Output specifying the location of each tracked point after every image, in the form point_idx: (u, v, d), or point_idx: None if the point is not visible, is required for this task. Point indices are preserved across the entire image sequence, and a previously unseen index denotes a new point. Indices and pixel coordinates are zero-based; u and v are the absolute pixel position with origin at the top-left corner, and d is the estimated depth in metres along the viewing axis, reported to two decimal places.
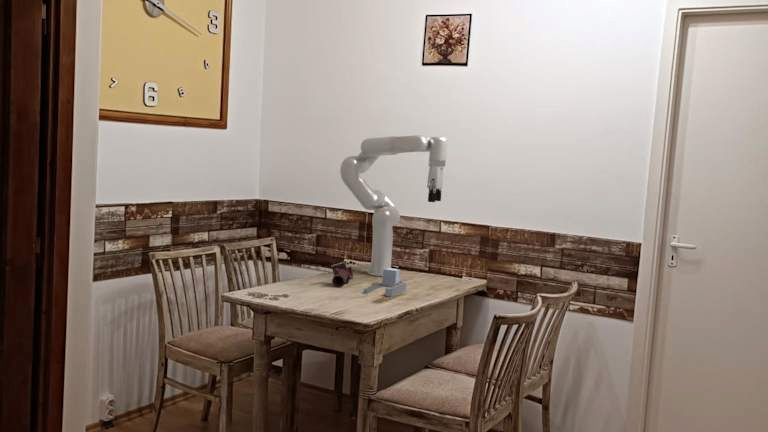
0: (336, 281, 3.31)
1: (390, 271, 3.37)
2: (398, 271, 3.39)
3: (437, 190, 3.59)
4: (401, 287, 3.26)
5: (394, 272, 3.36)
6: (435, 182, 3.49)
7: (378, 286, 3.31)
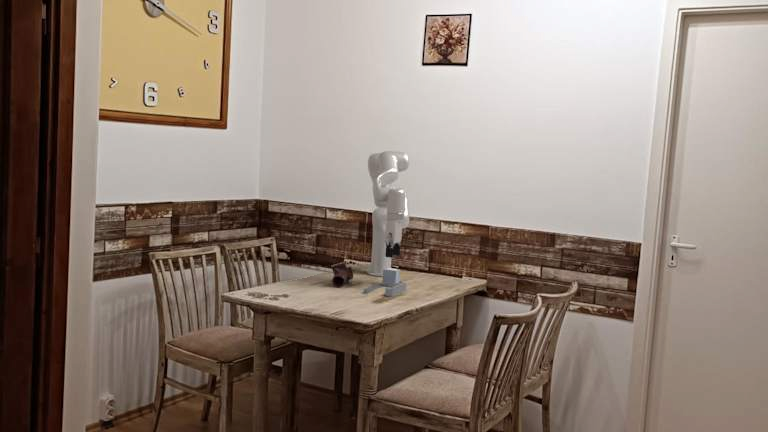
0: (336, 281, 3.31)
1: (390, 271, 3.37)
2: (398, 271, 3.39)
3: (396, 244, 3.43)
4: (401, 287, 3.26)
5: (394, 272, 3.36)
6: (392, 236, 3.33)
7: (378, 286, 3.31)
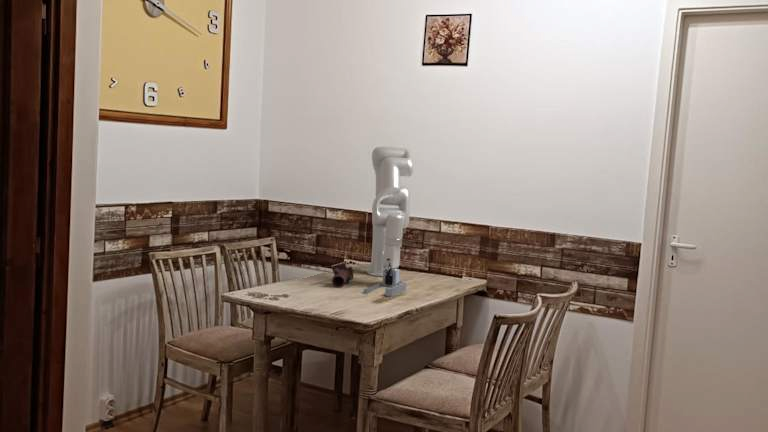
0: (336, 281, 3.31)
1: (390, 271, 3.37)
2: (398, 271, 3.39)
3: None
4: (401, 287, 3.26)
5: (394, 272, 3.36)
6: (391, 265, 3.34)
7: (378, 286, 3.31)
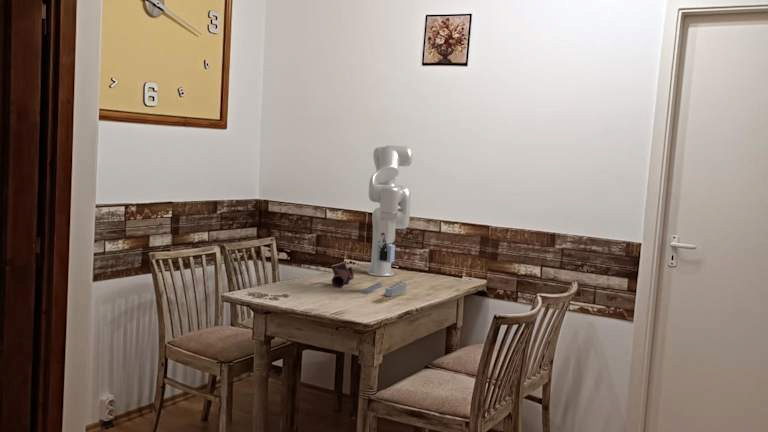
0: (336, 281, 3.30)
1: None
2: (393, 246, 3.23)
3: None
4: (401, 287, 3.26)
5: (389, 247, 3.20)
6: (385, 240, 3.18)
7: (378, 286, 3.31)
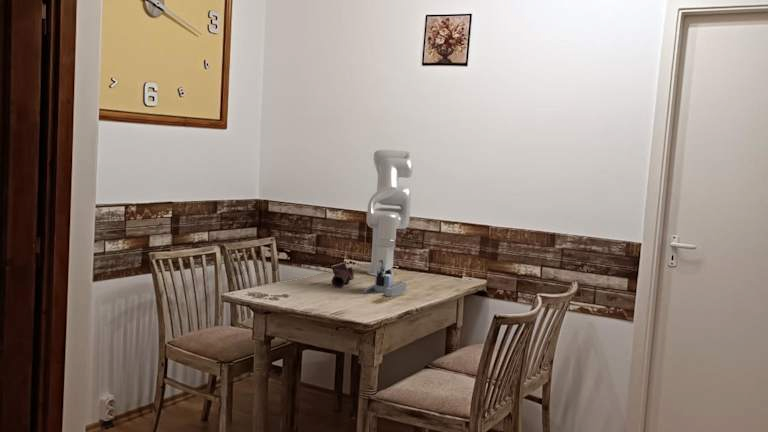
0: (336, 282, 3.30)
1: None
2: (391, 276, 3.25)
3: (387, 271, 3.29)
4: (401, 287, 3.26)
5: (387, 278, 3.22)
6: (383, 264, 3.19)
7: None
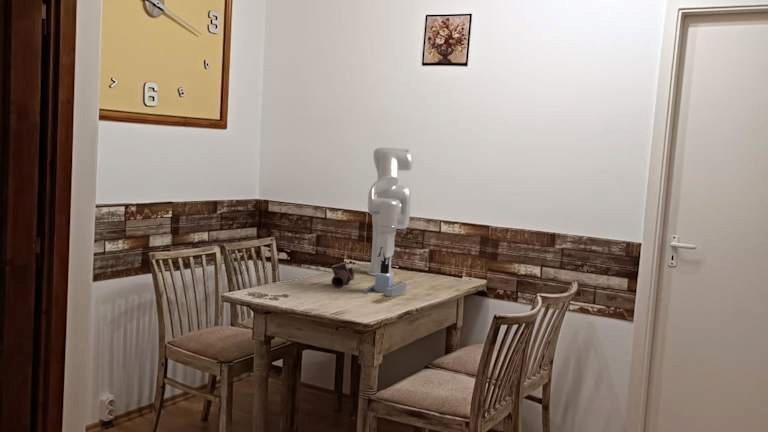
0: (336, 282, 3.29)
1: (383, 276, 3.22)
2: (391, 276, 3.25)
3: None
4: (401, 287, 3.26)
5: (387, 277, 3.22)
6: (385, 256, 3.20)
7: None
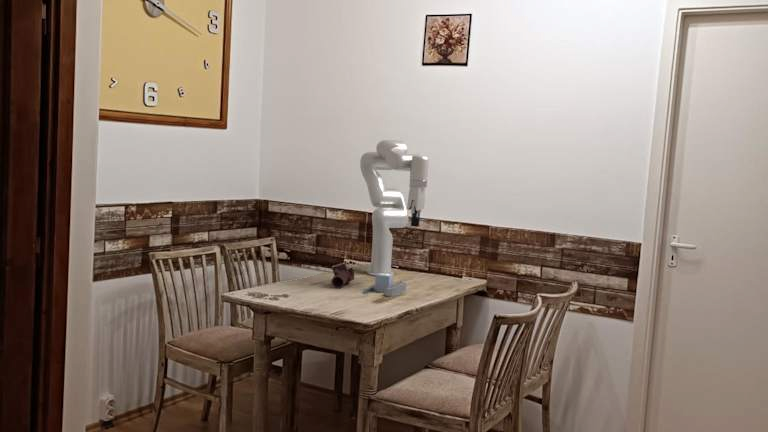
0: (336, 282, 3.29)
1: (383, 276, 3.22)
2: (391, 276, 3.25)
3: None
4: (401, 287, 3.26)
5: (387, 278, 3.22)
6: (416, 209, 3.32)
7: None
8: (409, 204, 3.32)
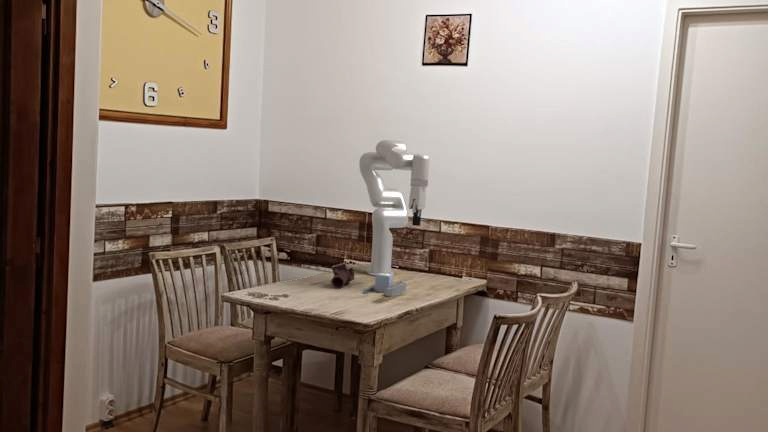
0: (336, 282, 3.29)
1: (383, 276, 3.22)
2: (391, 276, 3.25)
3: None
4: (401, 287, 3.26)
5: (387, 278, 3.22)
6: (417, 208, 3.32)
7: None
8: (410, 203, 3.32)
